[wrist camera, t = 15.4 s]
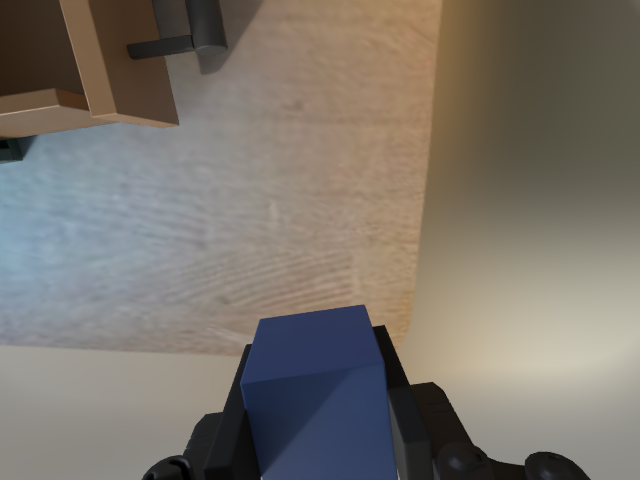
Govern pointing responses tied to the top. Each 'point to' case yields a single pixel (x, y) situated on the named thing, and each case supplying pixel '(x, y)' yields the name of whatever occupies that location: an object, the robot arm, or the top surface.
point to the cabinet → (9, 151)
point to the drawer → (92, 63)
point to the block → (319, 398)
